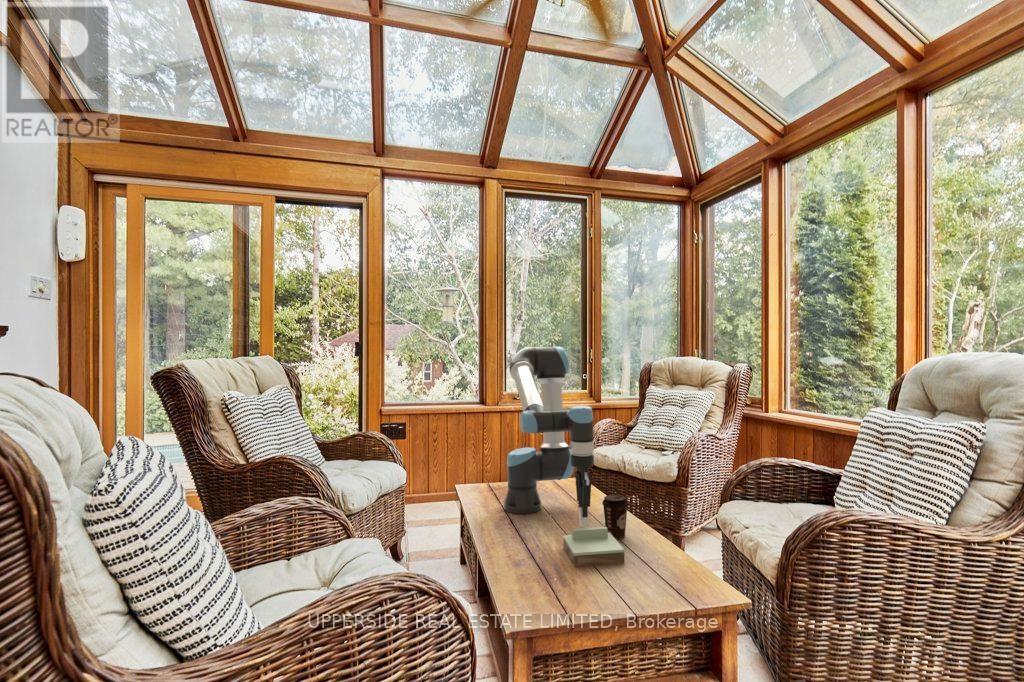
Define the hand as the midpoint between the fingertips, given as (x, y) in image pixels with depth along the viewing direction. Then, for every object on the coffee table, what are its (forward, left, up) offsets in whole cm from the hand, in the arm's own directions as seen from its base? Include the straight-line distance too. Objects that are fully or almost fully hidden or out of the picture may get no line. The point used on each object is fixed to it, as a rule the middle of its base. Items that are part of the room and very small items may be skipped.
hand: (584, 525), depth 163 cm
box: (+10, 0, -6) cm, 11 cm away
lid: (+10, 0, -2) cm, 10 cm away
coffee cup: (-4, +12, -6) cm, 14 cm away
